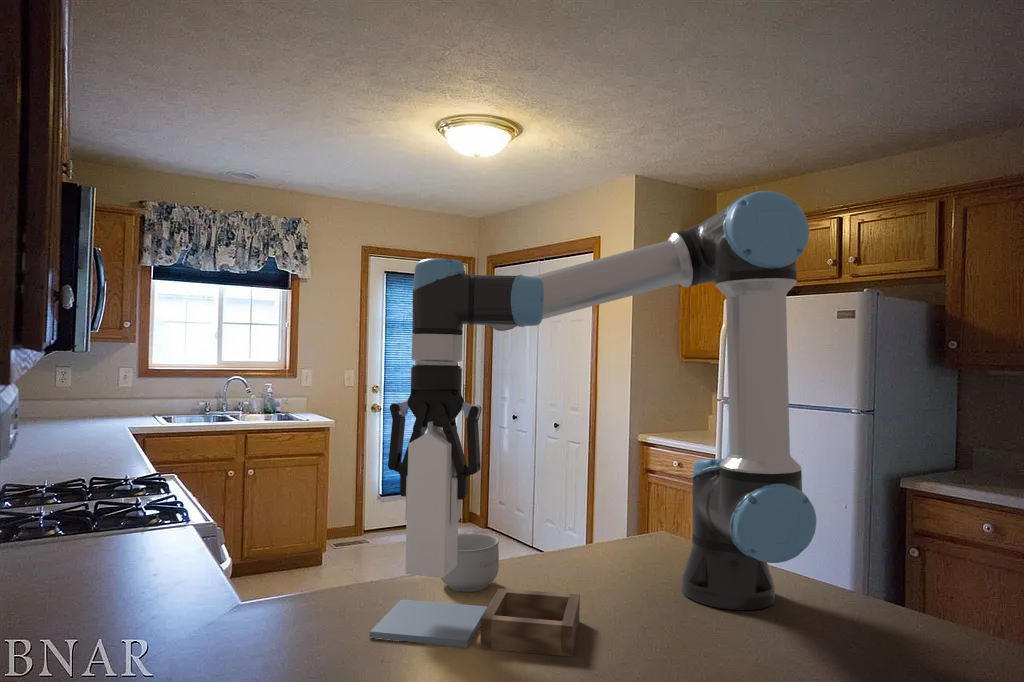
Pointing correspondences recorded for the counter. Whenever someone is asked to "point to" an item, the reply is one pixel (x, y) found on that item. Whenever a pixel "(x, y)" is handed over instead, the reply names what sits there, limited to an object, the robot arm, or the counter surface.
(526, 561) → the counter surface
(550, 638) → the frame
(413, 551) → the milk
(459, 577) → the teacup
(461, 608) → the board
